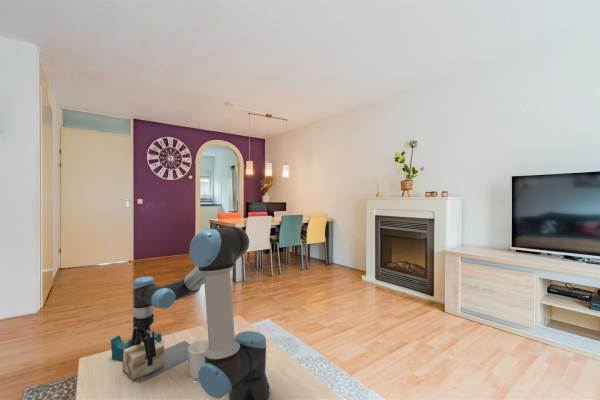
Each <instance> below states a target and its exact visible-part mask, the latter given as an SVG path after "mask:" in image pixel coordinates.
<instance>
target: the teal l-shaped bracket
mask: <svg viewBox="0 0 600 400" xmlns="http://www.w3.org/2000/svg"><path fill="white" fill-rule="evenodd" d="M146 338H147V337H146ZM146 338H144V339H146ZM154 340H156V341H157V342H159V343H160V342H161V341H162V340H163V339H162V333H161V332H154ZM131 341H132V338H130V339H129V340H128V341H127V342H125V343H124V341H123V340H122V338H121V335H117V336H115V337H113V338H111V339H110V347H111V348H110V349H111V358H112V360H113V361H118V362H123V350H124V349H126V348H129V347H132V346H133V345H132V344H131ZM134 341H135V340H134ZM141 343H142V341H141Z"/></svg>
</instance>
